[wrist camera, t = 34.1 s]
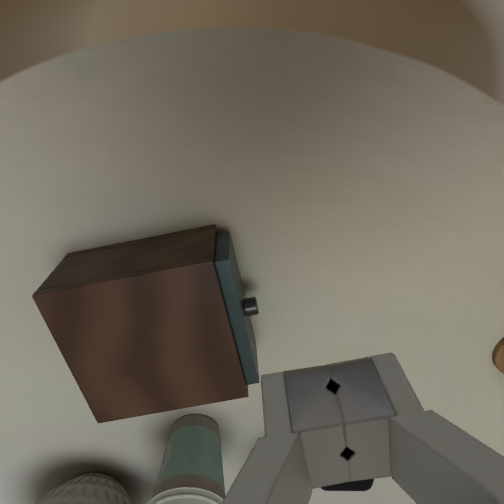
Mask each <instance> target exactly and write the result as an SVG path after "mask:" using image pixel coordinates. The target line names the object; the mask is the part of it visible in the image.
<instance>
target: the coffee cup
mask: <svg viewBox="0 0 504 504" xmlns="http://www.w3.org/2000/svg"><path fill="white" fill-rule="evenodd" d="M224 498H225V488H224V477H223V466H222V456H221V445H220V436H219V428H218V425H217V424H216V422H215V421H213V420H212V419H211V418H209V417H207V416H203V415H196V414H194V415H187V416H184V417H182V418H180V419H179V420H177V421H176V422H175V424H174V425H173V428H172V431H171V434H170V438H169V441H168V444H167V447H166V451H165V454H164V457H163V461H162V464H161V468H160V471H159V474H158V478H157V481H156V484H155V488H154V491H153V494H152V498H151V500H150V501H149V503H148V504H221V503H222V501H223V499H224Z"/></svg>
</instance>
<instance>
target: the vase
mask: <svg viewBox="0 0 504 504" xmlns="http://www.w3.org/2000/svg"><path fill="white" fill-rule="evenodd" d="M36 504H133V501H132V499H131V497H130V496H129V494H128V493H127V492H126V490H125V489H124V488H123V486H122V485H121V484H120V483H119V482H118V481H117V480H116V479H115V478H113V477H111V476H108V475H105V474H101V473H86V474H82V475H80V476H77V477H75V478H73V479H71V480H69V481H67V482H65V483H63V484H61V485H59V486H58V487H56V488H55V489H53V490H52V491H51V492H49V493H48V494H46V495H45V496H44V497H43V498H42V499H40V500H39V501H38V502H37V503H36Z"/></svg>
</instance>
